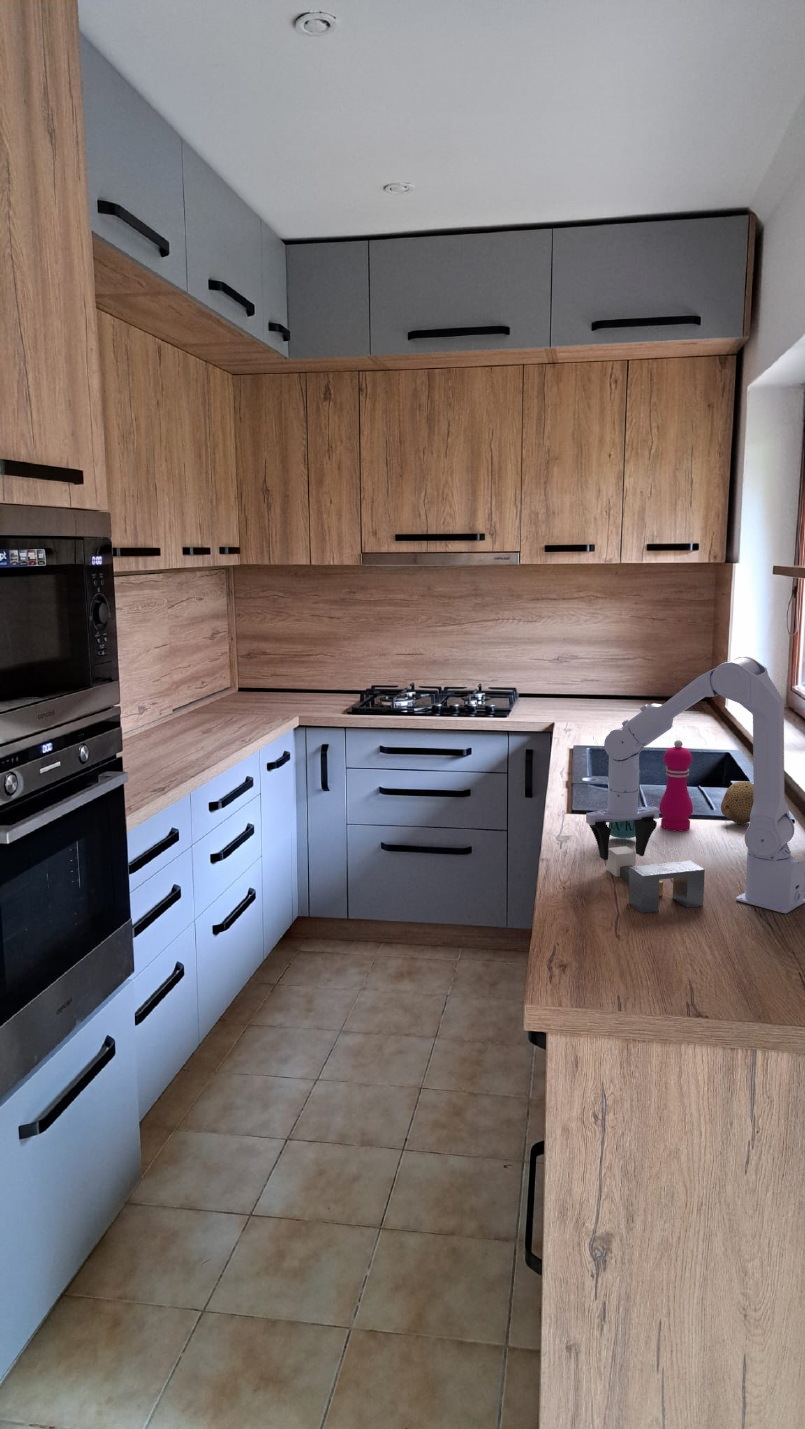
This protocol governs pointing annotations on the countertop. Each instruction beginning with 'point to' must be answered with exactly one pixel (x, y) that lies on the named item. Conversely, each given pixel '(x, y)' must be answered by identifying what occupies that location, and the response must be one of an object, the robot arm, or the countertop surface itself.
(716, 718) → the countertop surface
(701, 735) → the countertop surface
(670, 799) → the pepper mill
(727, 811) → the natural sponge
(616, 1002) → the countertop surface
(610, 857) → the plug
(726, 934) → the countertop surface
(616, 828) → the beverage bottle
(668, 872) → the housing
